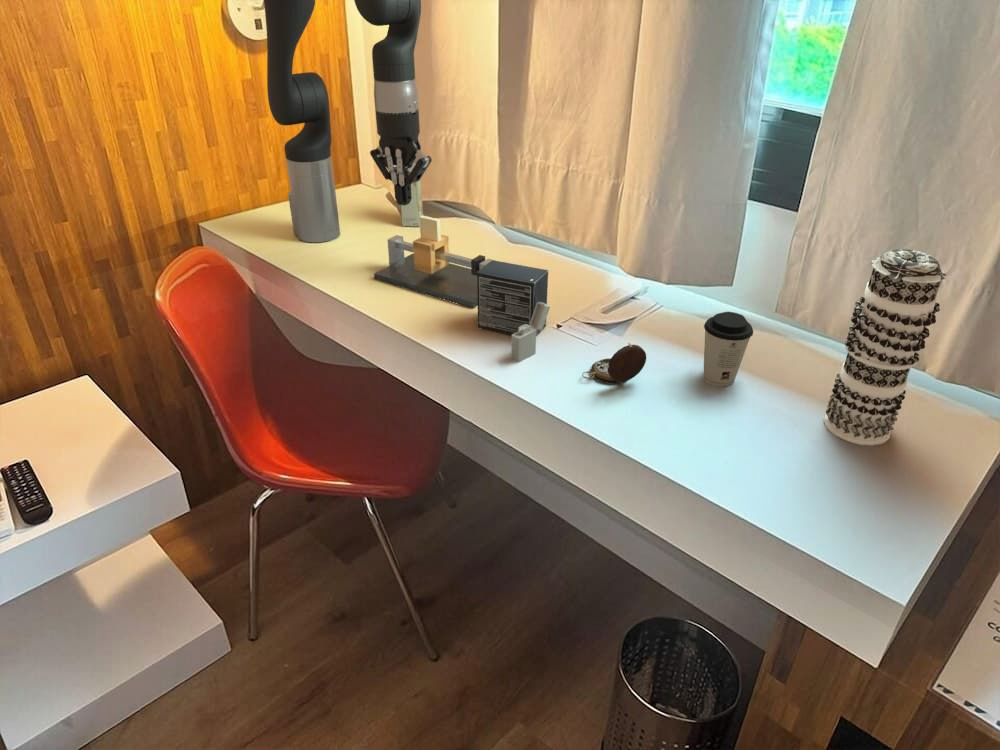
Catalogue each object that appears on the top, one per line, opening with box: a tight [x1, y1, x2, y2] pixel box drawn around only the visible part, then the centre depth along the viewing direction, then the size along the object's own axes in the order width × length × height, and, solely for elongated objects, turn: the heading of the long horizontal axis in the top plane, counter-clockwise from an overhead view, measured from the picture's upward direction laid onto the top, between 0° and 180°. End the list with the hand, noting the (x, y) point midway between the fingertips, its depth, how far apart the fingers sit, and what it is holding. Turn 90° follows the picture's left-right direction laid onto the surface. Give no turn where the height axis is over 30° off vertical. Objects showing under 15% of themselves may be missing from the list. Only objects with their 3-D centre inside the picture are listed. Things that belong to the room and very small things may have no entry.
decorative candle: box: [823, 248, 947, 447], centre depth 93 cm, size 9×9×25 cm
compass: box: [581, 342, 647, 385], centre depth 108 cm, size 8×8×7 cm
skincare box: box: [400, 178, 424, 227], centre depth 163 cm, size 6×4×12 cm
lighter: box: [510, 302, 551, 363], centre depth 114 cm, size 7×2×8 cm, turn 135°
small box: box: [476, 259, 549, 337], centre depth 121 cm, size 11×6×10 cm, turn 65°
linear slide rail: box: [373, 234, 493, 309], centre depth 137 cm, size 23×12×7 cm, turn 58°
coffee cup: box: [702, 311, 754, 387], centre depth 107 cm, size 7×7×10 cm
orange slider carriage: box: [412, 215, 450, 274], centre depth 136 cm, size 4×6×10 cm
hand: (403, 203), depth 135 cm, fingers closed
